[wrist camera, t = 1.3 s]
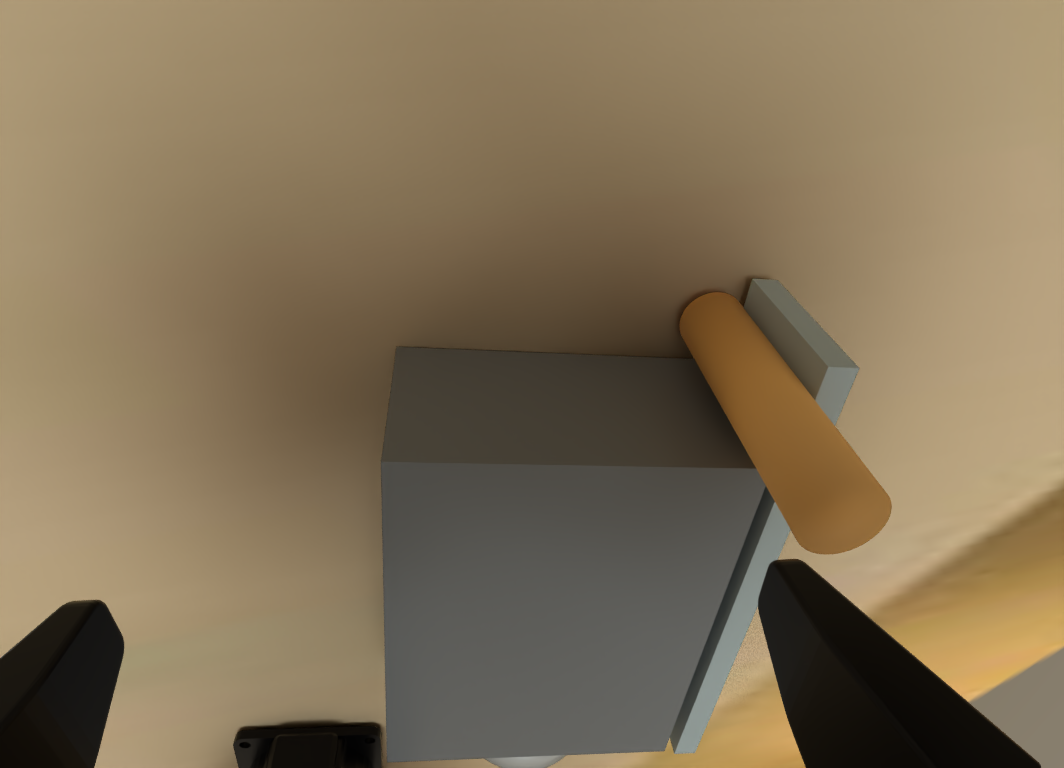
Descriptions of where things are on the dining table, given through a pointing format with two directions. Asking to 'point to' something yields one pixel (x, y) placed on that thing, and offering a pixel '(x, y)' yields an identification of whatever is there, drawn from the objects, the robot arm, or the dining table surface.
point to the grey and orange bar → (775, 457)
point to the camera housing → (551, 550)
